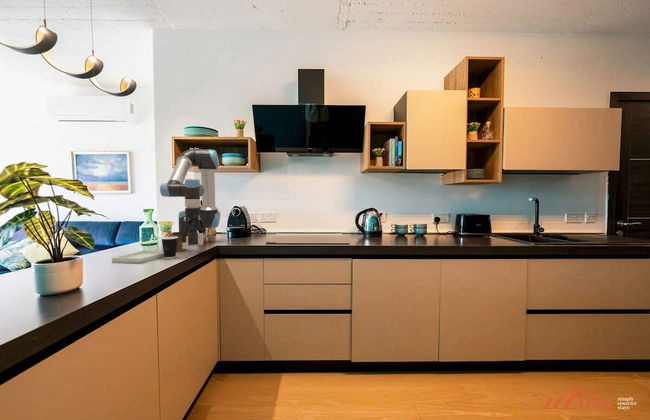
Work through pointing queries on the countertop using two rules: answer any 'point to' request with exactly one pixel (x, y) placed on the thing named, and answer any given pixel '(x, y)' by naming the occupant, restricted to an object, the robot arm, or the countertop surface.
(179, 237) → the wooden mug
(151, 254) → the sage tray
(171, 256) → the dixie cup
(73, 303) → the countertop surface
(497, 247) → the countertop surface
